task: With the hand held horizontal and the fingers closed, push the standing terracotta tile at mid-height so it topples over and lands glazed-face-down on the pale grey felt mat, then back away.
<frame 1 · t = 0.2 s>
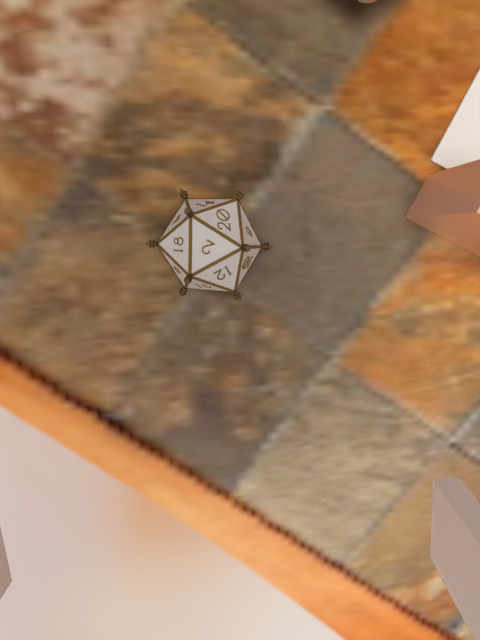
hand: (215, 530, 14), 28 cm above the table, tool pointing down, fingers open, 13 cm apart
game die: (213, 243, 40), on the table
terracotta tile: (461, 220, 40), on the table
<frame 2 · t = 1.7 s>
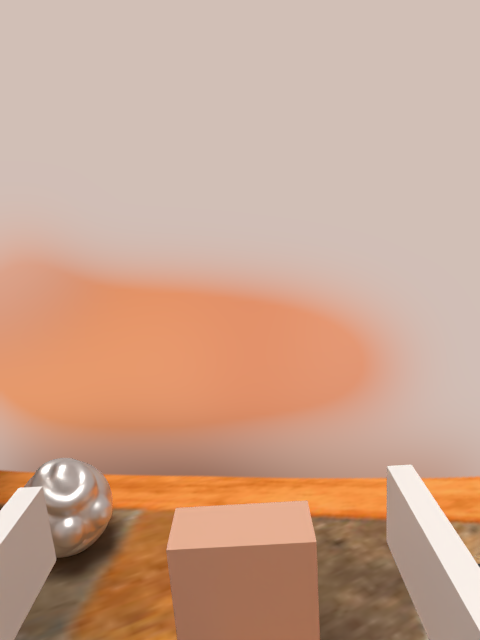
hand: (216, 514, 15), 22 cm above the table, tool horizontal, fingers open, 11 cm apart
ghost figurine: (73, 549, 46), on the table
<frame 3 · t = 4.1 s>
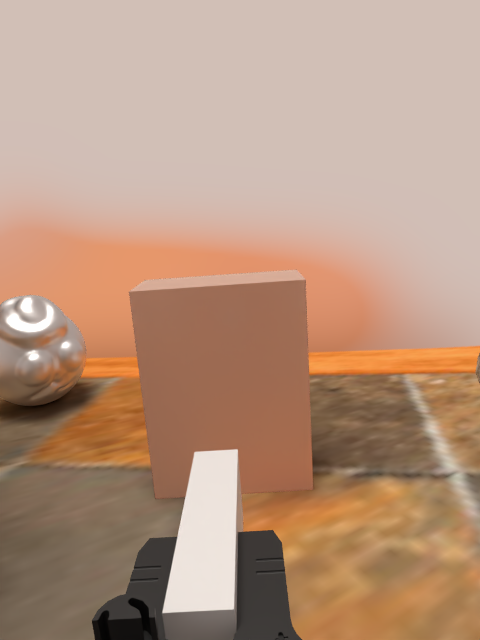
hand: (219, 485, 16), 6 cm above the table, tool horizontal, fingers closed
terracotta tile: (234, 474, 28), on the table
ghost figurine: (43, 404, 42), on the table
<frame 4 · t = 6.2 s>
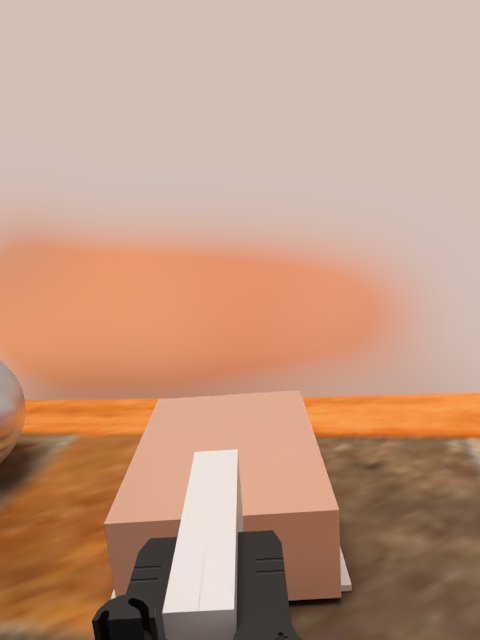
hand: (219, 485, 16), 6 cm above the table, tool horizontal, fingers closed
terracotta tile: (225, 561, 18), point 2 cm above the table, tilted 90°, touching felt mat
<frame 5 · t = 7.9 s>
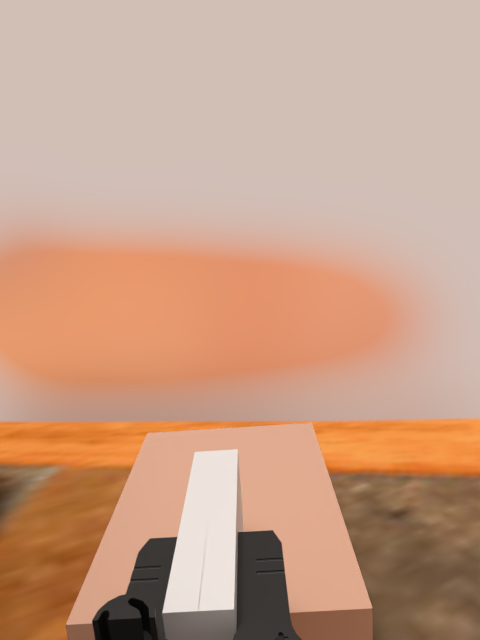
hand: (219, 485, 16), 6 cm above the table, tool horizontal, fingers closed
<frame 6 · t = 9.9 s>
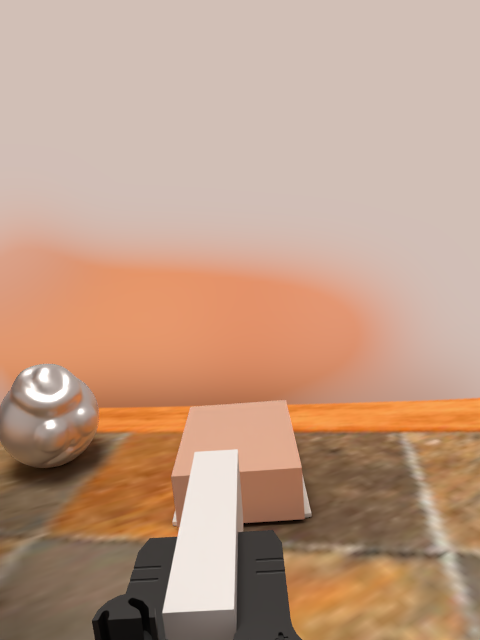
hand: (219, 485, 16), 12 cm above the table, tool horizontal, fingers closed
terracotta tile: (238, 498, 32), point 2 cm above the table, tilted 90°, touching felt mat
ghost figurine: (58, 464, 44), on the table
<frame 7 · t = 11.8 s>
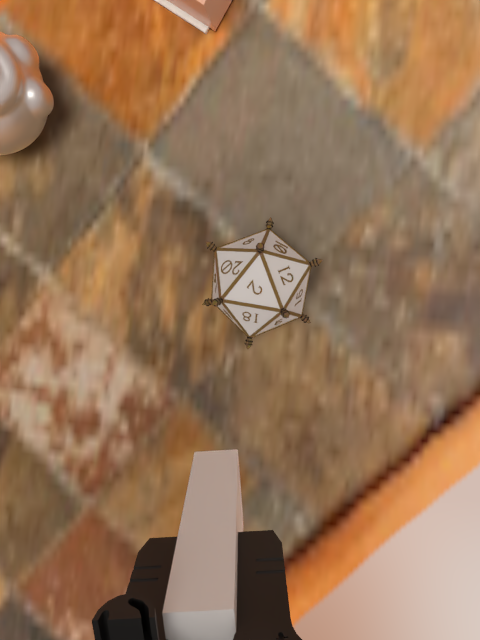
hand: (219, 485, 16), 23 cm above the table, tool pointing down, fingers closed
game die: (264, 278, 38), on the table
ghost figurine: (26, 110, 39), on the table
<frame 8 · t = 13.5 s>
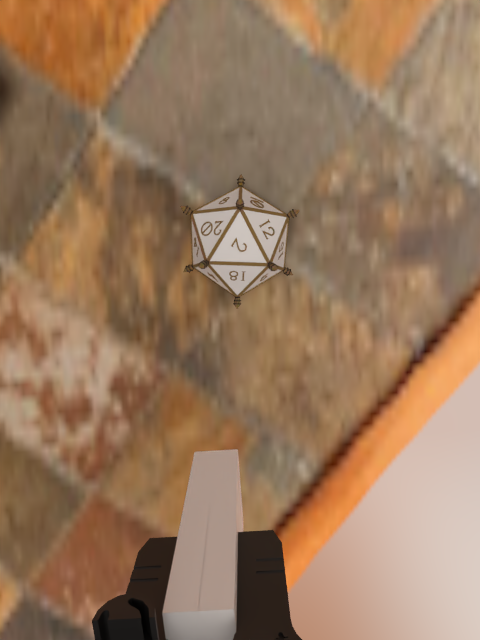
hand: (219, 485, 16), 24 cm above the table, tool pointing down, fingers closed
game die: (239, 238, 38), on the table
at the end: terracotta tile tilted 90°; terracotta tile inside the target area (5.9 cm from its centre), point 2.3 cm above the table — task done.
